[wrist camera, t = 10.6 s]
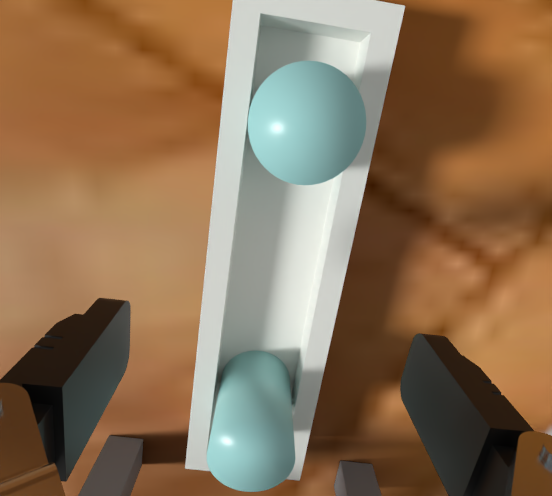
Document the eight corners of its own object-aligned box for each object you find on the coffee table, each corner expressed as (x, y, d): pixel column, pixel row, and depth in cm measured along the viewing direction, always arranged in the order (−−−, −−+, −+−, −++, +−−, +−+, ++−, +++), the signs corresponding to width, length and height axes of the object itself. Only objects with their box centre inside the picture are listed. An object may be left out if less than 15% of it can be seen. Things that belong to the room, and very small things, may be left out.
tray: (241, 0, 16) (225, -69, 10) (382, 26, 16) (444, -28, 11) (195, 425, 23) (169, 530, 17) (296, 436, 23) (304, 543, 17)
